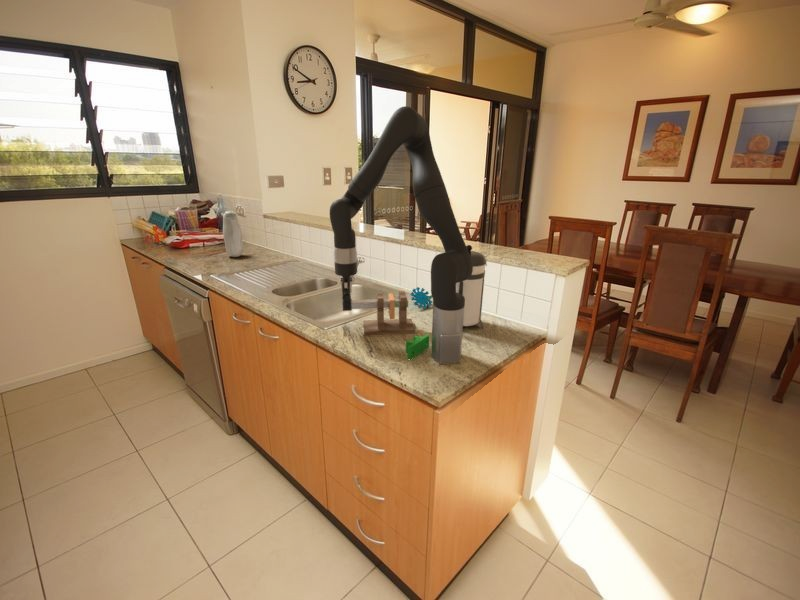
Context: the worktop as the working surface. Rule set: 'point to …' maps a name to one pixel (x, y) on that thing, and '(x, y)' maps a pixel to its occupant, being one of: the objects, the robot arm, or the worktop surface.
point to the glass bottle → (232, 234)
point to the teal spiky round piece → (421, 298)
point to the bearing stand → (389, 326)
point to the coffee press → (473, 289)
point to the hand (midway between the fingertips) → (347, 304)
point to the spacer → (391, 306)
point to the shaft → (370, 304)
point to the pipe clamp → (416, 346)
